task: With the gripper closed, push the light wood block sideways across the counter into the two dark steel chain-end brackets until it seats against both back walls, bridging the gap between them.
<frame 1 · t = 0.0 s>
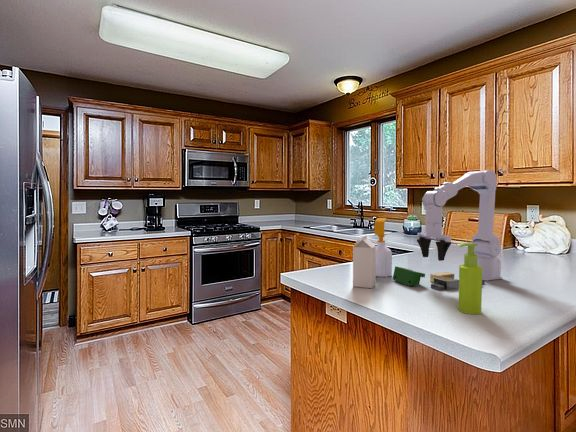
hand: (433, 258, 127), 10 cm above the countertop, tool pointing down, fingers open, 7 cm apart
light wood block: (442, 281, 133), on the countertop
soap dispenser: (468, 311, 99), on the countertop
milk carton: (364, 286, 128), on the countertop
soap bottle: (380, 275, 145), on the countertop
green angular piece: (409, 283, 131), on the countertop
chain end blocks: (457, 285, 127), on the countertop
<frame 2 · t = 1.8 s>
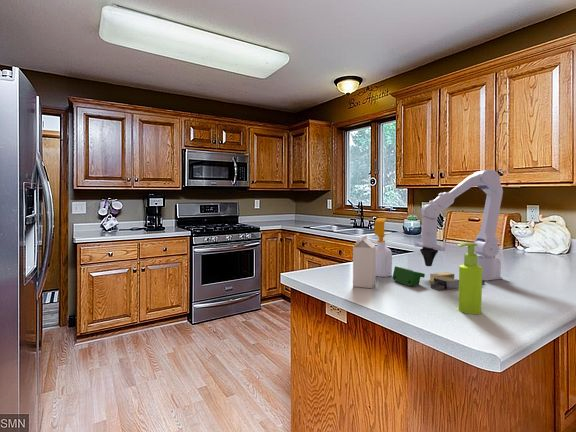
hand: (428, 266, 139), 5 cm above the countertop, tool pointing down, fingers closed
nothing on the countertop moved.
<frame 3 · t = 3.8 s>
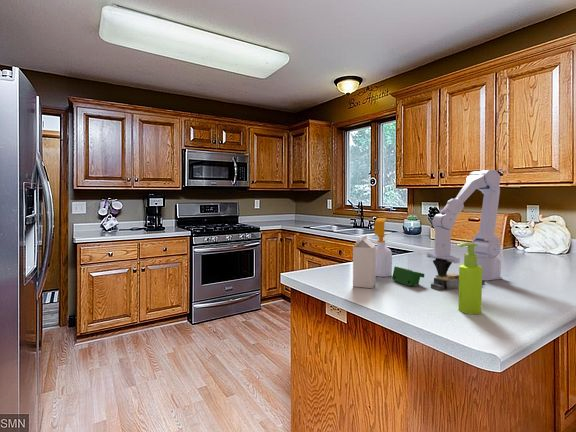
hand: (442, 278, 133), 1 cm above the countertop, tool pointing down, fingers closed
light wood block: (447, 283, 131), on the countertop, touching gripper
everything else where it was.
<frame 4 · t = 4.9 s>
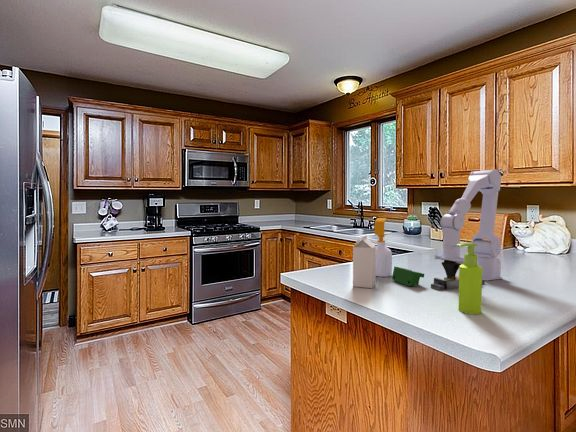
hand: (450, 280, 129), 1 cm above the countertop, tool pointing down, fingers closed
light wood block: (456, 285, 127), on the countertop, touching chain end blocks, gripper
everything else where it was.
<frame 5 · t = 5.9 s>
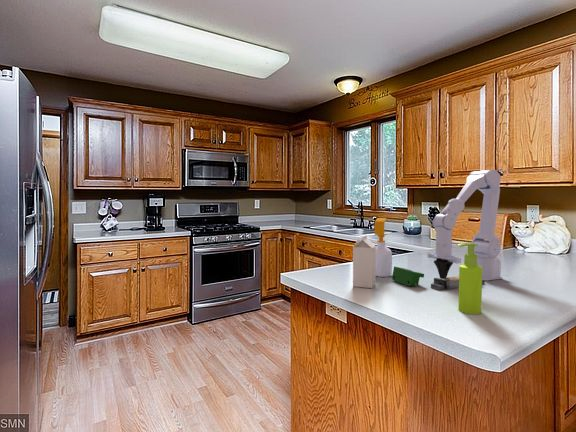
hand: (443, 278, 133), 1 cm above the countertop, tool pointing down, fingers closed
light wood block: (456, 286, 127), on the countertop
everything else where it was.
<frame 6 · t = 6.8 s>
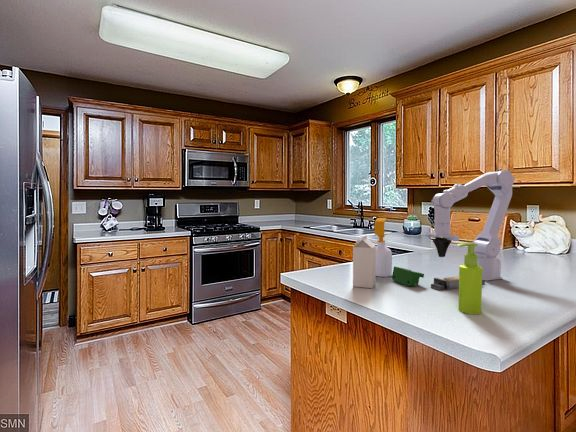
hand: (441, 256, 135), 9 cm above the countertop, tool pointing down, fingers closed
nothing on the countertop moved.
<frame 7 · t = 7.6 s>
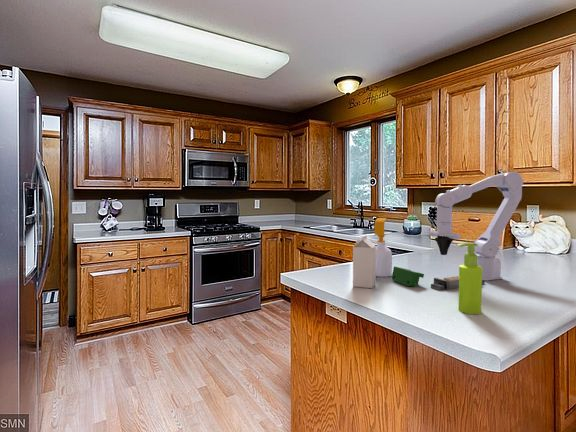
hand: (443, 254, 140), 9 cm above the countertop, tool pointing down, fingers closed
nothing on the countertop moved.
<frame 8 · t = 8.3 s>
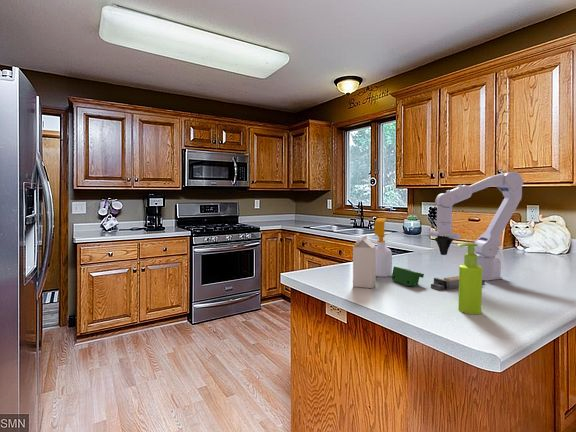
hand: (443, 254, 140), 9 cm above the countertop, tool pointing down, fingers closed
nothing on the countertop moved.
at the end: light wood block 0.4 cm off-centre on the chain end blocks, point 0.0 cm above the chain end blocks's base; light wood block tilted 0°; light wood block moved 6.9 cm from its start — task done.
